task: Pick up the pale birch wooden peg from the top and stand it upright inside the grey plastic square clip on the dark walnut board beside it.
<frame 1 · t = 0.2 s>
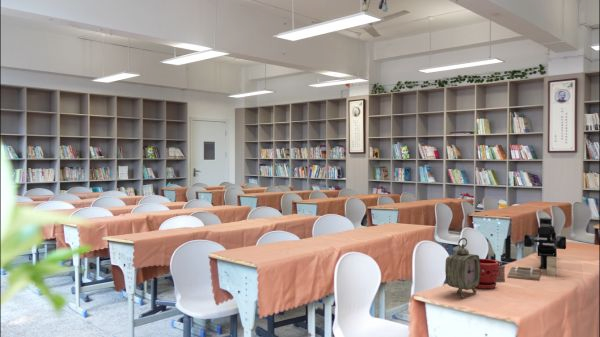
hand: (544, 244, 237), 16 cm above the table, tool horizontal, fingers open, 9 cm apart
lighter: (496, 281, 235), on the table
tabletop clock: (462, 295, 213), on the table
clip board: (524, 274, 246), on the table
plant pot: (483, 286, 226), on the table
peg: (551, 275, 243), on the table
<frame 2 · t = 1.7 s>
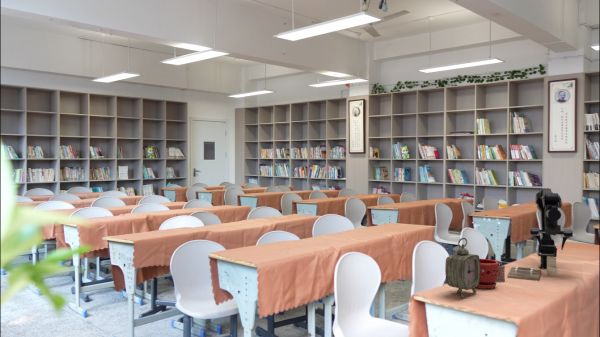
hand: (551, 249, 243), 13 cm above the table, tool pointing down, fingers open, 9 cm apart
nothing on the table moved.
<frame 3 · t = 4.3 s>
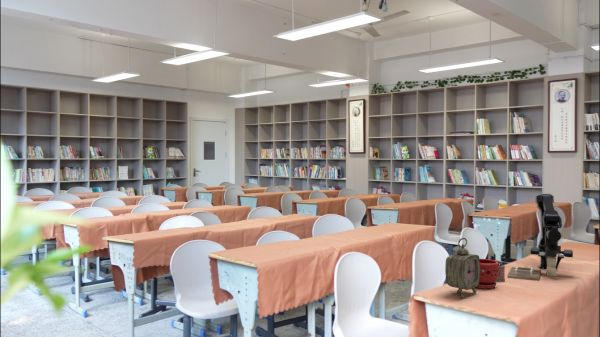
hand: (551, 269, 243), 3 cm above the table, tool pointing down, fingers closed on peg, 4 cm apart
peg: (551, 275, 243), on the table, touching gripper
everything else where it was.
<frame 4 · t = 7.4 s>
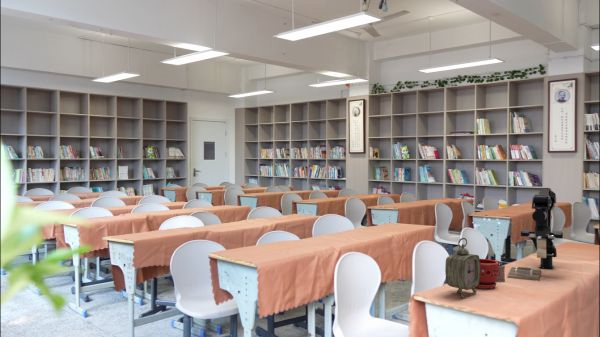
hand: (541, 251, 243), 12 cm above the table, tool pointing down, fingers closed on peg, 4 cm apart
peg: (541, 257, 243), point 9 cm above the table, touching gripper
everything else where it was.
when the fingers open (5 cm above the table, at t = 10.5 s): peg stays where it is, resting on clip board.
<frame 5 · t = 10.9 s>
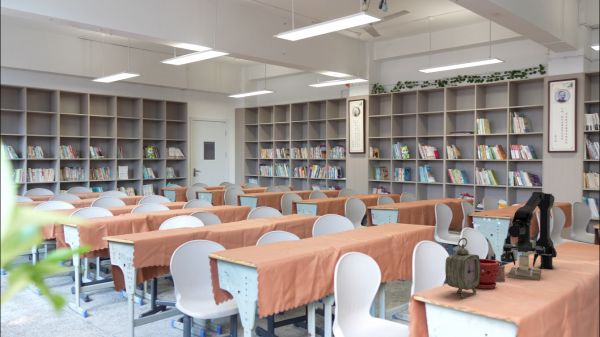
hand: (524, 265, 243), 5 cm above the table, tool pointing down, fingers open, 8 cm apart
peg: (524, 273, 243), point 1 cm above the table, touching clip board
everything else where it was.
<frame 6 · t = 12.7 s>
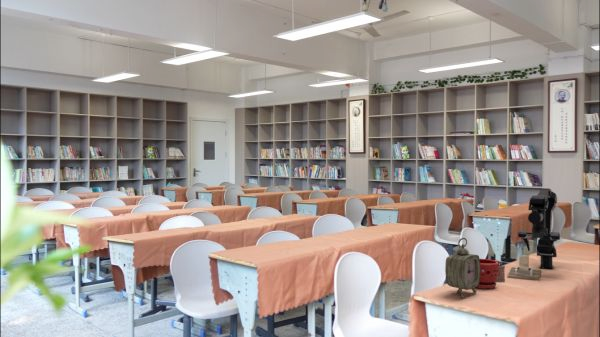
hand: (539, 251, 244), 12 cm above the table, tool pointing down, fingers open, 9 cm apart
nothing on the table moved.
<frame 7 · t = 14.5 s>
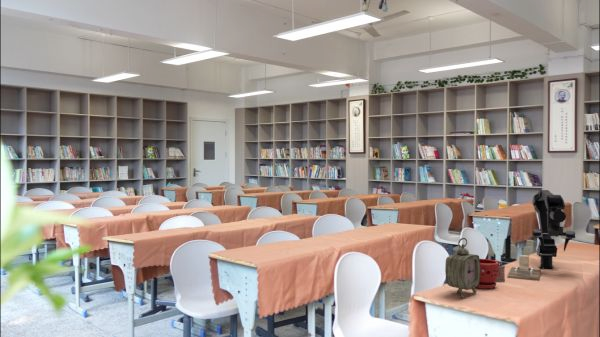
hand: (553, 250, 245), 12 cm above the table, tool pointing down, fingers open, 9 cm apart
nothing on the table moved.
at the end: peg 0.0 cm from the target spot on the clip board, point 1.0 cm above the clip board's base; peg tilted 0°; the gripper is holding nothing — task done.
